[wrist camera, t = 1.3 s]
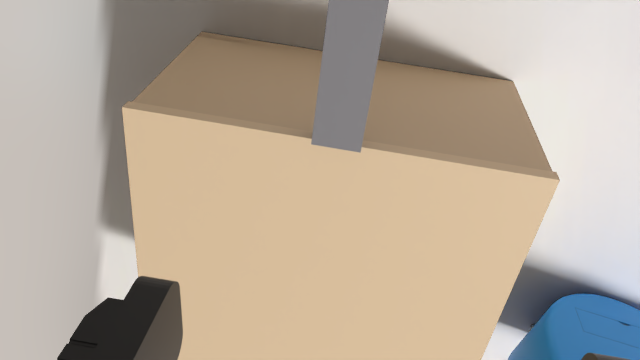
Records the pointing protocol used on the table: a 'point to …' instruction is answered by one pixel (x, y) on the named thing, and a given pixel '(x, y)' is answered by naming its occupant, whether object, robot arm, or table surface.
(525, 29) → the table surface
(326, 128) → the carton flap
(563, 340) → the alarm clock
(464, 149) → the carton
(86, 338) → the robot arm
